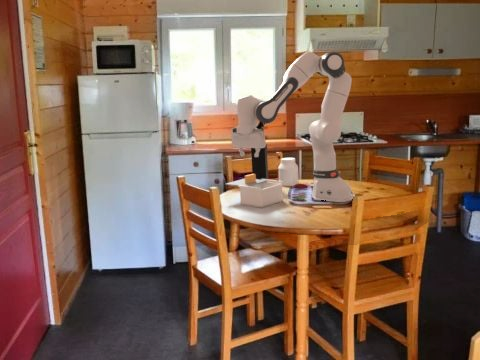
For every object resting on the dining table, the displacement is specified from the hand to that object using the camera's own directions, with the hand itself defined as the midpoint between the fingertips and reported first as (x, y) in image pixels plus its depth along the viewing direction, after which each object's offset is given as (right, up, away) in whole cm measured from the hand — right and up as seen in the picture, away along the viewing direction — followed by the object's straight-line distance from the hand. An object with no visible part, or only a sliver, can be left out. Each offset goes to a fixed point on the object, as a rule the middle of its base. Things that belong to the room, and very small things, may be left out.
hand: (249, 156), depth 240 cm
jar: (+24, -14, +40) cm, 49 cm away
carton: (+6, -23, 0) cm, 24 cm away
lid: (-2, -14, +5) cm, 14 cm away
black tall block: (+7, -17, +33) cm, 37 cm away
